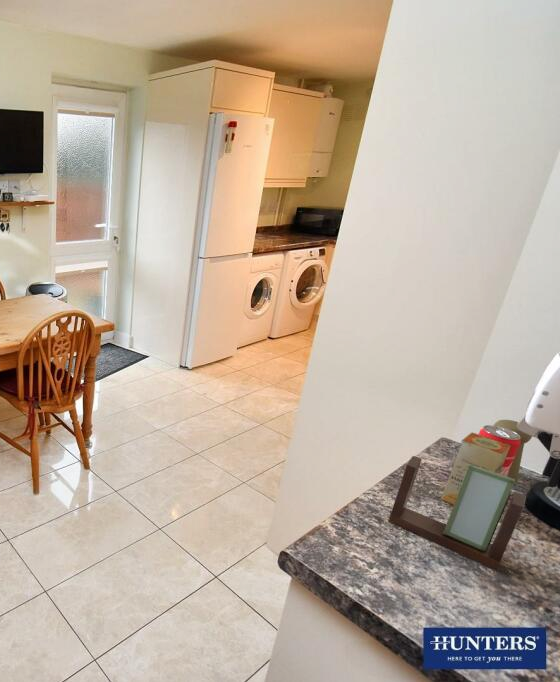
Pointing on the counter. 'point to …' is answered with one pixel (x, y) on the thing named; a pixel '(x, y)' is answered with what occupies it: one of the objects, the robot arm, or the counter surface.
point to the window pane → (478, 506)
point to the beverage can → (504, 437)
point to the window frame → (435, 528)
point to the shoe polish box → (474, 461)
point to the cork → (524, 439)
